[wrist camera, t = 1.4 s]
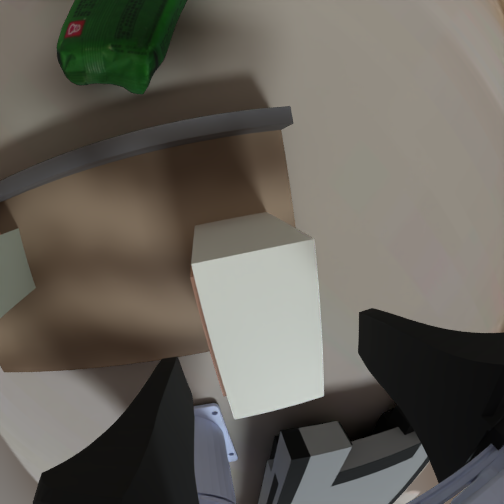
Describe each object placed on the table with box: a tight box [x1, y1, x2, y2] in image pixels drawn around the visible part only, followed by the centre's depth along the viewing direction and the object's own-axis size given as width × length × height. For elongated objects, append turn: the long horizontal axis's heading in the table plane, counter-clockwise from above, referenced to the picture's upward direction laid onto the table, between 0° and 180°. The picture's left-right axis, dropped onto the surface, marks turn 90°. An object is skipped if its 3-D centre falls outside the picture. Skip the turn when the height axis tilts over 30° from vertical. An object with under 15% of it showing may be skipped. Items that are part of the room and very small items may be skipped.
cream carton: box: [190, 212, 324, 420], centre depth 15 cm, size 5×8×8 cm, turn 9°
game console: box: [258, 406, 429, 504], centre depth 26 cm, size 21×32×8 cm, turn 176°
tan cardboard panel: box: [0, 106, 296, 372], centre depth 16 cm, size 15×28×4 cm, turn 99°
